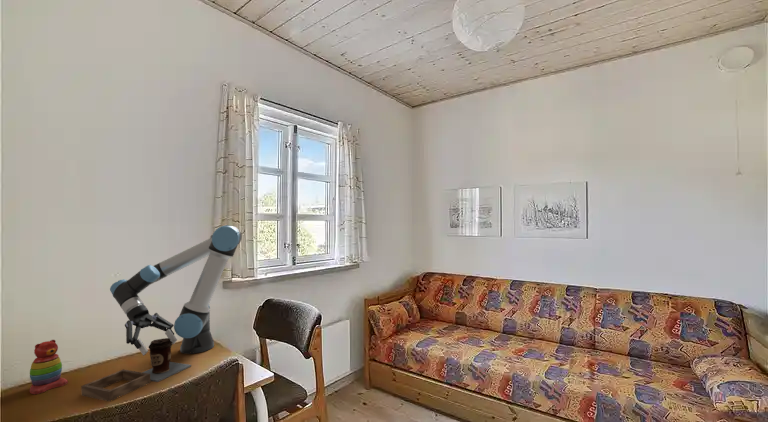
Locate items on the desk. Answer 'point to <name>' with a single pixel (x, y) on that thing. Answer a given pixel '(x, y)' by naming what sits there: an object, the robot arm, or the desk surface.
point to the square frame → (98, 391)
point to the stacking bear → (46, 368)
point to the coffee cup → (160, 355)
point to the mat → (173, 370)
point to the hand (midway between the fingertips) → (161, 347)
